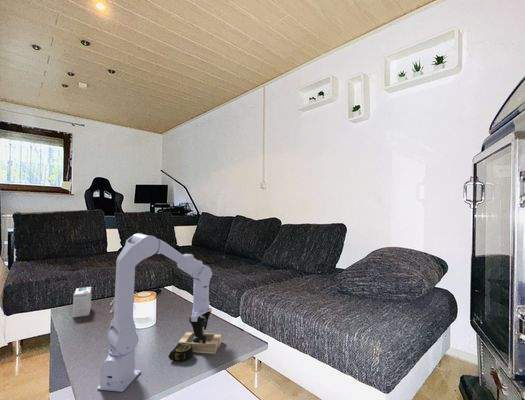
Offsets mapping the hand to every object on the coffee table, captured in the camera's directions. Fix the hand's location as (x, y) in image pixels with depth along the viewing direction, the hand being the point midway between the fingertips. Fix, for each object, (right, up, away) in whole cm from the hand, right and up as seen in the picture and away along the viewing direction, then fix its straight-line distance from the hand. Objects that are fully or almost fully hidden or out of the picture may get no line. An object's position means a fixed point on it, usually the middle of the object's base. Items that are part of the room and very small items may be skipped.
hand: (200, 332), depth 104 cm
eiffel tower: (-48, -5, +39) cm, 62 cm away
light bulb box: (-64, -5, +30) cm, 71 cm away
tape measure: (-5, -5, -8) cm, 11 cm away
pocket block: (0, -5, 0) cm, 5 cm away
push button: (-1, -5, 0) cm, 5 cm away
